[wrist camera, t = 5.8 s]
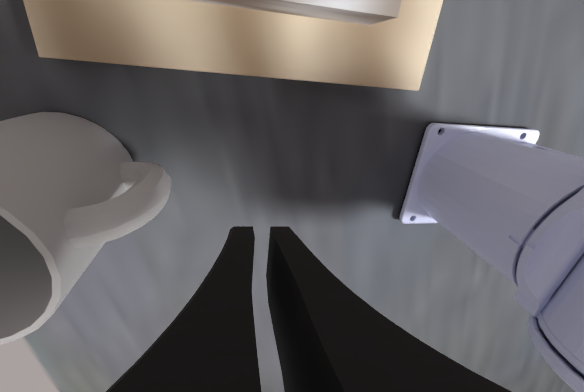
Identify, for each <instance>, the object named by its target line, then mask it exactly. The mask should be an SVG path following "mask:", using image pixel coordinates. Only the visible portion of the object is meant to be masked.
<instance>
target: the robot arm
mask: <svg viewBox="0 0 584 392" xmlns="http://www.w3.org/2000/svg"><path fill="white" fill-rule="evenodd" d="M440 128H441V131H440V133H438V131H439V129H440ZM538 137H539V131H538V130H534V129H524V128H508V127H492V126H476V125H460V124H444V123H431V124H429V125H428V126H427V128H426V130H425V134H424V137H423V140H422V144H421V147H420V150H419V154H418V157H417V160H416V164H415V167H414V170H413V174H412V177H411V180H410V184H409V187H408V190H407V194H406V197H405V200H404V204H403V207H402V210H401V214H400V218H399V219H400V220H401V221H402V222H403V223H405V224H407V223H439V224H440V225H442V226H443V227H444V228H445V229H447V230H448V231H449V232H450V233H452V234H453V235H454V236H455V237H457V238H458V239H459V240H460V241H462V242H463V243H464V244H465V245H466V246H468V247H469V248H470V249H471V250H473V251H474V252H475V253H476V254H478V255H479V256H480V257H481V258H483V259H484V260H485V261H486V262H488V263H489V264H490V265H491V266H492V267H494V268H495V269H496V270H497V271H499V272H500V273H501V274H502V275H504V276H505V277H506V278H507V279H509V280H510V281H511V282H512V283H514V284H515V285H516V286H517V291H516V293H515V295H514V297H513V299H514V300H515V301H516V302H517V303H518V304H519V305H521V306H522V307H523V308H524V309H525V310H526V311H528V312H529V313H530V314H531V315H530V317H529V319H528V331H529V334H530V337H531V339H532V341H533V343H534V344H535V346H536V348H537V349H538V350H539V352H540V353H541V355H542V356H543V357H544V359H545V360H546V361H547V363H548V364H549V365H550V367H551V368H552V369H553V370H554V371H555V372H556V373H557V374H558V376H559V377H560V378H561V379H562V380H563V381H564V382H565V383H567V384H568V385H569V386H570V387H571V388H572V389H573V390H574V391H575V392H584V158H582V157H578V156H575V155H571V154H568V153H564V152H561V151H557V150H554V149H550V148H546V147H543V146H539V145H536V141H537V139H538ZM412 216H413V217H412ZM411 217H412V218H411ZM254 240H255V237H254V231H253V227H233V228H231V229H230V232H229V235H228V238H227V240H226V243H225V245H224V247H223V249H222V251H221V253H220V255H219V256H218V258H217V260H216V262H215V263H214V265H213V267H212V269H211V270H210V272H209V273H208V275H207V276H206V278H205V279H204V281H203V282H202V284H201V285H200V287H199V288H198V290H197V291H196V292H195V294H194V295H193V297H192V298H191V299H190V301H189V302H188V303H187V304H186V306H185V307H184V308H183V310H182V311H181V312H180V313H179V314H178V316H177V317H176V318H175V319H174V321H173V322H172V323H171V324H170V325H169V326H168V328H167V329H166V330H165V331H164V332H163V333H162V334H161V335H160V337H159V338H158V339H157V340H156V341H155V342H154V343H153V344H152V346H151V347H150V348H149V349H148V350H147V351H146V352H145V353H144V354H143V355H142V356H141V357H140V358H139V359H138V360H137V362H136V363H135V364H134V365H133V366H132V367H131V368H129V369H128V370H127V371H126V372H125V373H124V374H123V375H122V376H121V377H120V378H119V379H118V380H117V381H116V382H115V383H114V384H113V385H112V386H111V387H110V388H109V389H108V390H107V391H106V392H261V385H260V376H259V367H258V358H257V348H256V338H255V327H254V316H253V304H252V273H253V256H254ZM266 278H267V291H268V303H269V308H270V314H271V319H272V324H273V329H274V334H275V340H276V345H277V350H278V355H279V360H280V365H281V370H282V376H283V383H284V389H285V392H511V391H509V390H507V389H505V388H503V387H501V386H499V385H498V384H496V383H494V382H492V381H490V380H488V379H486V378H484V377H482V376H480V375H478V374H476V373H474V372H473V371H471V370H469V369H467V368H465V367H464V366H462V365H460V364H459V363H457V362H455V361H453V360H452V359H450V358H448V357H447V356H445V355H443V354H441V353H440V352H438V351H436V350H435V349H433V348H431V347H430V346H428V345H427V344H425V343H423V342H422V341H420V340H419V339H417V338H415V337H414V336H412V335H411V334H409V333H408V332H406V331H405V330H403V329H402V328H400V327H399V326H397V325H396V324H395V323H393V322H392V321H390V320H389V319H387V318H386V317H384V316H383V315H382V314H380V313H379V312H378V311H376V310H375V309H374V308H372V307H371V306H370V305H369V304H367V303H366V302H365V301H363V300H362V299H361V298H360V297H358V296H357V295H356V294H355V293H353V292H352V291H351V290H350V289H349V288H348V287H346V286H345V285H344V284H343V283H342V282H341V281H340V280H339V279H338V278H337V277H335V276H334V275H333V274H332V273H331V272H330V271H329V270H328V269H327V268H326V267H325V266H324V265H323V264H322V263H321V262H320V261H319V260H318V259H317V258H316V257H315V256H314V255H313V253H312V252H311V251H310V250H309V249H308V248H307V247H306V246H305V245H304V243H303V242H302V241H301V240H300V239H299V238H298V236H297V235H296V234H295V233H294V232H293V231H292V230H291V229H290V227H271V228H270V239H269V250H268V262H267V273H266Z"/></svg>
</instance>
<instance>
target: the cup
mask: <svg viewBox="0 0 584 392" xmlns="http://www.w3.org/2000/svg"><path fill="white" fill-rule="evenodd" d="M171 180H172V178H171V177H170V176H169V175H168V174H167V173H166V171H165V170H164V169H163V168H162V167H161V166H160V165H158V164H154V163H149V162H133V160H132V158H131V156H130V154H129V152H128V151H127V150H126V149H125V148H124V146H123V145H122V144H121V143H120V142H119V140H118V139H117V138H115V137H114V136H113V135H112V134H110V133H109V132H108V131H106V130H105V129H104V128H102V127H101V126H99V125H97V124H95V123H93V122H91V121H89V120H87V119H85V118H82V117H78V116H74V115H70V114H67V113H59V112H39V113H33V114H28V115H24V116H19V117H14V118H11V119H7V120H3V121H0V344H4V343H7V342H11V341H15V340H18V339H20V338H22V337H24V336H25V335H27V334H29V333H31V332H33V331H35V330H37V329H38V328H39V327H40V326H41V325H43V324H44V323H45V322H46V321H47V320H48V319H49V318H50V317H51V316H52V315H53V313H54V312H55V311H56V309H57V308H58V307H59V305H60V304H61V303H62V301H63V300H64V298H65V297H66V296H67V294H68V293H69V292H70V290H71V289H72V287H73V286H74V285H75V283H76V282H77V281H78V279H79V278H80V276H81V275H82V274H83V272H84V271H85V270H86V268H87V267H88V265H89V264H90V263H91V261H92V260H93V259H94V257H95V256H96V254H97V253H98V252H99V250H100V249H101V248H102V246H103V245H104V244H105V242H108V241H111V240H114V239H118V238H120V237H122V236H124V235H126V234H128V233H130V232H132V231H134V230H137V229H139V228H140V227H142V226H143V225H144V224H146V223H147V222H148V221H150V220H151V219H153V218H154V217H155V216H156V215H157V214H158V213H159V212H160V211H161V209H162V208H163V207H164V206H165V204H166V202H167V200H168V198H169V195H170V190H171Z"/></svg>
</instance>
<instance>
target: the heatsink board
mask: <svg viewBox="0 0 584 392" xmlns="http://www.w3.org/2000/svg"><path fill="white" fill-rule="evenodd" d="M23 2H24V5H25V9H26V12H27V16H28V19H29V23H30V27H31V30H32V34H33V37H34V41H35V44H36V48H37V51H38V55H39V57H44V58H56V59H67V60H78V61H90V62H101V63H112V64H123V65H135V66H146V67H157V68H168V69H180V70H191V71H202V72H214V73H225V74H236V75H247V76H259V77H270V78H281V79H292V80H304V81H315V82H326V83H338V84H349V85H360V86H371V87H383V88H394V89H405V90H417V91H419V87H420V84H421V80H422V76H423V73H424V69H425V65H426V62H427V58H428V54H429V51H430V47H431V43H432V40H433V36H434V32H435V29H436V25H437V21H438V18H439V14H440V10H441V6H442V3H443V0H23Z"/></svg>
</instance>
